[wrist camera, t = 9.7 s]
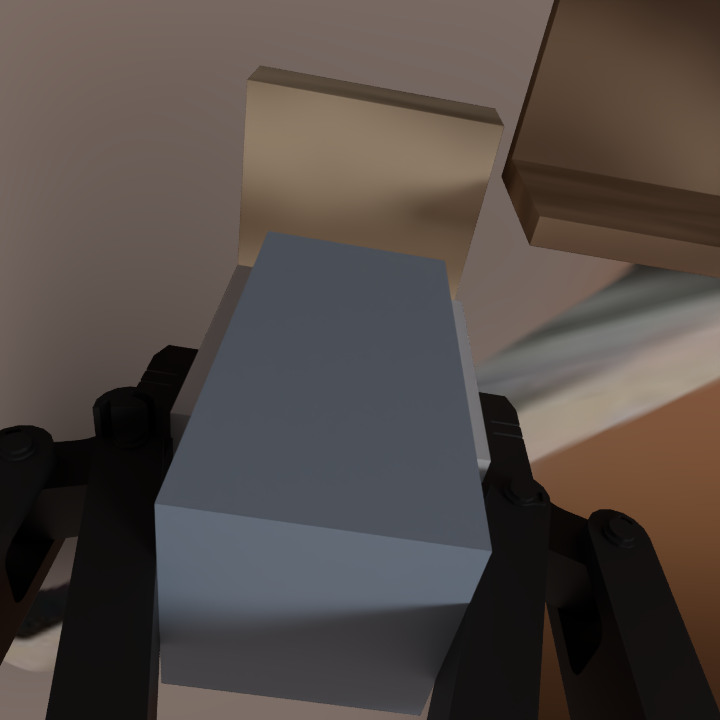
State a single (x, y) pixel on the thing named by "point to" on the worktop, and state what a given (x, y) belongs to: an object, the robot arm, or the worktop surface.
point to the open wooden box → (623, 134)
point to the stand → (363, 167)
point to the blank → (324, 487)
